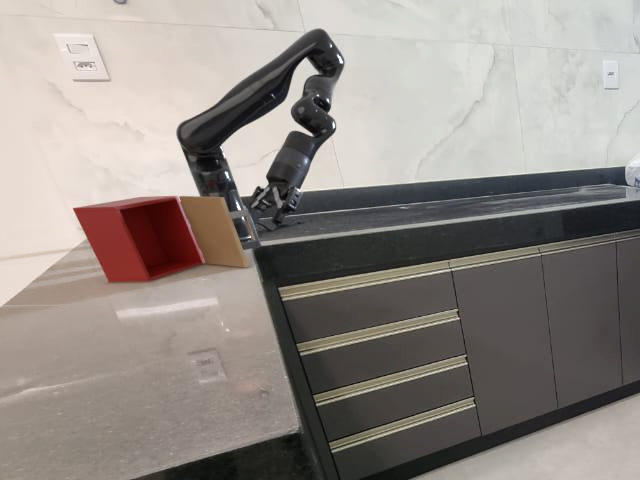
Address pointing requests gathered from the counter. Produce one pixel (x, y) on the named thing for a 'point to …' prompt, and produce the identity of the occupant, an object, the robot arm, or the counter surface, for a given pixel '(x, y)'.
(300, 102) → the robot arm
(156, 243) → the red cabinet
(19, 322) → the counter surface
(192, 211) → the wooden cabinet door
